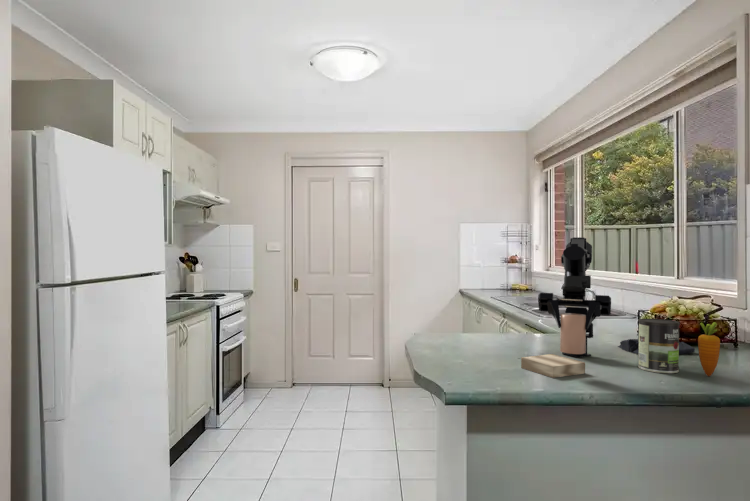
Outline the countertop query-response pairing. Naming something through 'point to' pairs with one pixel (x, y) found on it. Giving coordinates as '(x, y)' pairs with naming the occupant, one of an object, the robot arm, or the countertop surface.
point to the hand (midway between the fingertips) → (572, 328)
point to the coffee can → (659, 345)
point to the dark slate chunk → (633, 346)
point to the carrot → (709, 348)
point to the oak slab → (553, 365)
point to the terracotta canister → (573, 333)
